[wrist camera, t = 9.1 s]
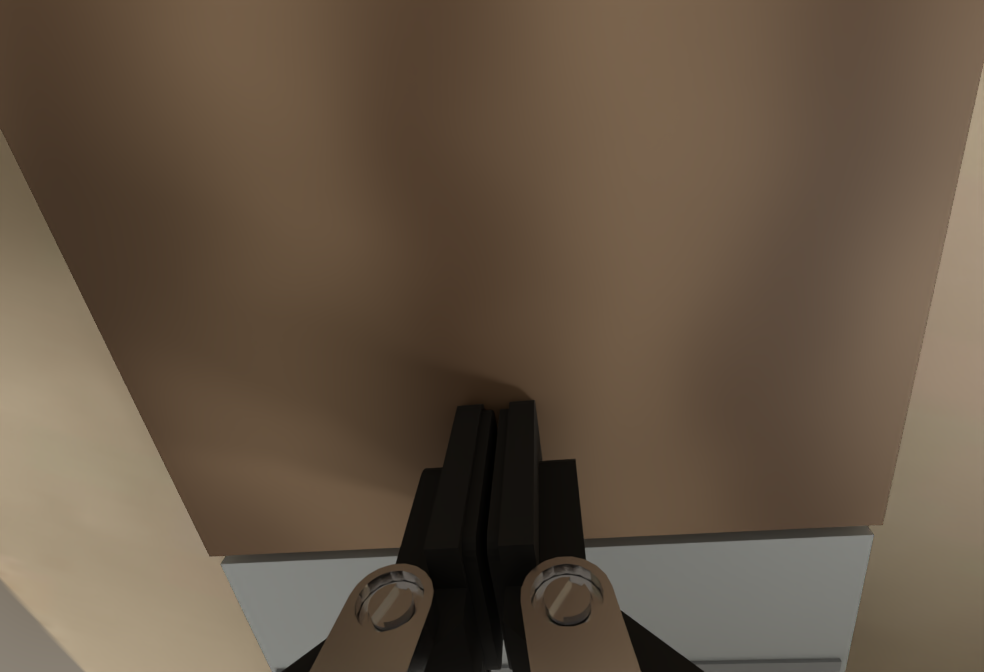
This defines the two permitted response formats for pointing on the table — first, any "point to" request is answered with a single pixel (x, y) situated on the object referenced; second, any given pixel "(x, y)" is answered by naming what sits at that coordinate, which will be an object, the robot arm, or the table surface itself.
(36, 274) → the table surface
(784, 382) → the plank
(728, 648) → the laid boards
